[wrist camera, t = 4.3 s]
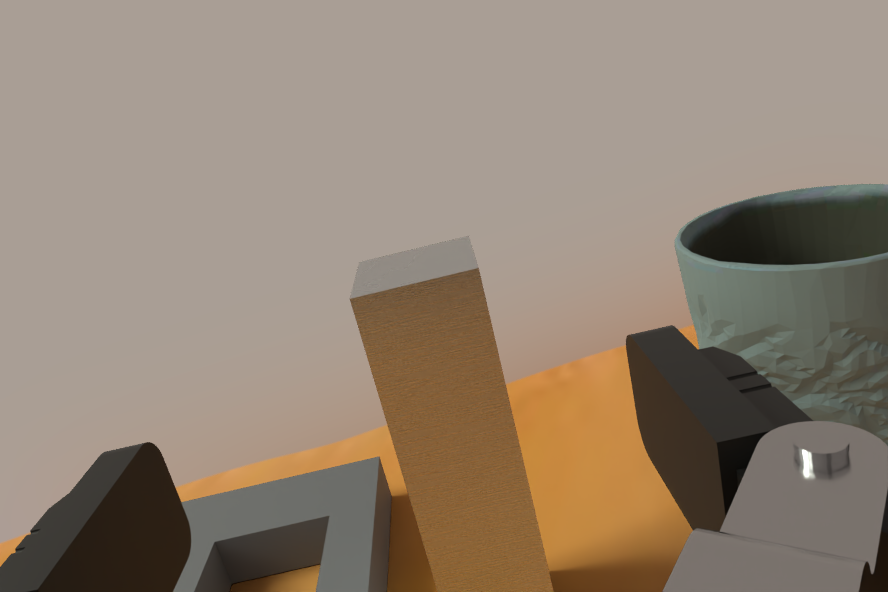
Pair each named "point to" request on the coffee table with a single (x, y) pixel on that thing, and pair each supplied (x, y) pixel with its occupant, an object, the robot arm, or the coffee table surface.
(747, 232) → the green embossed pot
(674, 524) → the coffee table surface
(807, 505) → the robot arm
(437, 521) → the square bit
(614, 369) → the coffee table surface
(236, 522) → the socket board
